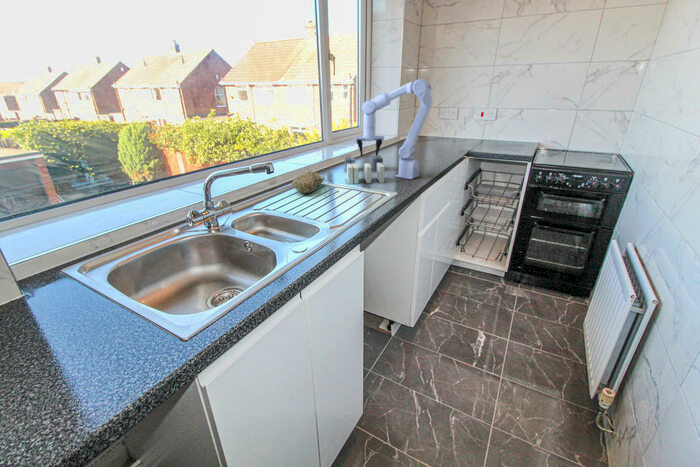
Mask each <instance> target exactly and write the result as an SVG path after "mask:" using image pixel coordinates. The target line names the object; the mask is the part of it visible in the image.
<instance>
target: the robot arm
mask: <svg viewBox="0 0 700 467" xmlns="http://www.w3.org/2000/svg"><path fill="white" fill-rule="evenodd" d="M406 94H414V95H415V96H416V97H417V98H418V101H419V103H420V104H419V108H418V110H417V112H416V116H415V118H414V120H413V123H412V125H411V126H410V130H409V132H408V134H407V136H406V139H405V140H404V142H403V144H402V146H400V148H399V149H398V171H397V174H396V175H394V177H395V178H401V179H408V180H413V179H416V178H418V177H419V176H420V175H419V171H420V162H419V159H415V156H414V153H415V151H416V144H417V141H418V138H419V136H420V134H421V132H422V129H423V127H424V124H425V122H426V120H427V118H428V115H429V112H430V110H431V108H432V106H433V104H434V102H433V100H434V99H433V93H432V87H431V84H430V83H429V81H428V80H426V79H424V78H423V79H422V78H418V79H416V80H414V81H411V82H408V83H406V84H404V85H402V86H400V87H398V88H396V89H394V90H393V91H391V92H389V93H387V92H380V93H379V95H377V96H375V97H371V98H370V100H366V101H365V102H363V104H362V107H361V109H362V112H363V135H362V136H354V142H356V144H357V146H358V149H359V153H360V156H361V157H363V156H364V152H363V142H368V141H369V142H370V141H371V142H372V141H373V142H374V141H375V156H379V151H380V148H381V146H382V144H383V142H384V141H385V135H376V112H377V111H379V110H382V109H383V108H386V107H387V106H390V105H391V102H392V101H394V100H395V99H397V98H399V97H401V96H404V95H406Z"/></svg>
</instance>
